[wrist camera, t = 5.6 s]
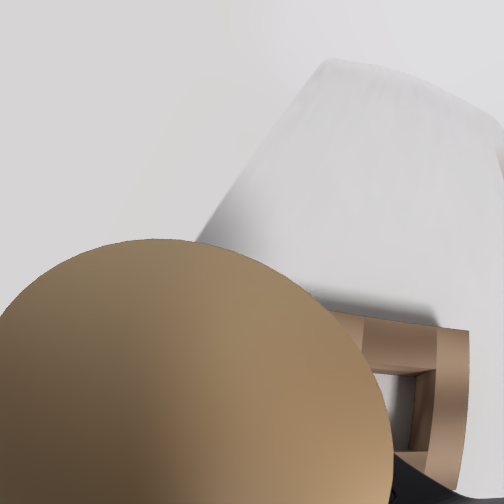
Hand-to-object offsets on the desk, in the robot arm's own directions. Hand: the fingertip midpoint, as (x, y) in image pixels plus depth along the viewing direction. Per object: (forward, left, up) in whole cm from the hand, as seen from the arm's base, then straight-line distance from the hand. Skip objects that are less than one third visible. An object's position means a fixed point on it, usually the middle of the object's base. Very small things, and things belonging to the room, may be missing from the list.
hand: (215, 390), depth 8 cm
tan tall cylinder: (-1, 0, -7) cm, 7 cm away
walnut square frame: (-2, -10, -13) cm, 17 cm away
